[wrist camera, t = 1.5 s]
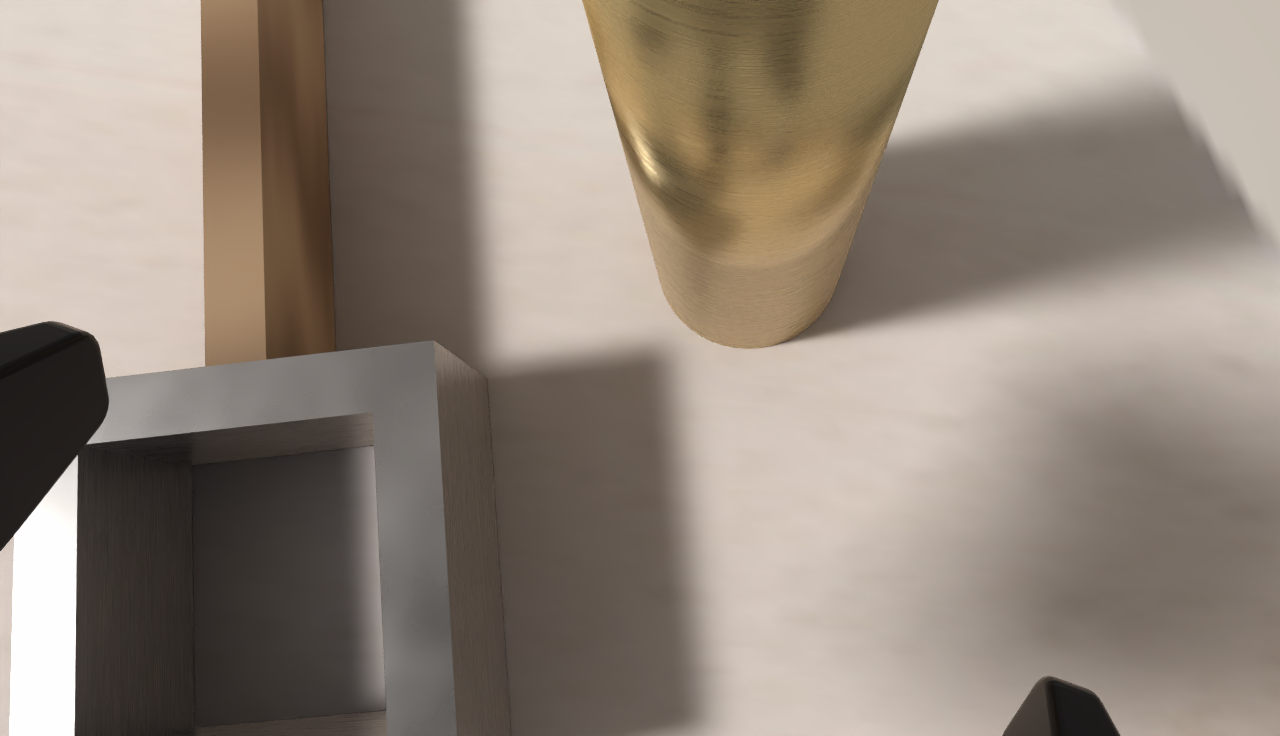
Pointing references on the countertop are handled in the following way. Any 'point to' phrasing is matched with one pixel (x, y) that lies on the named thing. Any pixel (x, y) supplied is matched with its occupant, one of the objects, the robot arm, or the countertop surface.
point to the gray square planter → (163, 544)
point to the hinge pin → (754, 144)
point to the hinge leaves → (265, 181)
